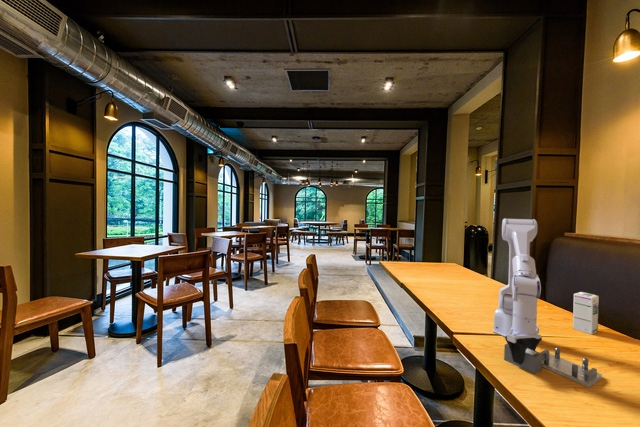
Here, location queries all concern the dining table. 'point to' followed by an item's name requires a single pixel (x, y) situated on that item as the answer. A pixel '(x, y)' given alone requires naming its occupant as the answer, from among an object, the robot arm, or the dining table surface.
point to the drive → (526, 360)
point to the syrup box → (585, 312)
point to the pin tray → (570, 368)
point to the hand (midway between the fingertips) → (522, 360)
